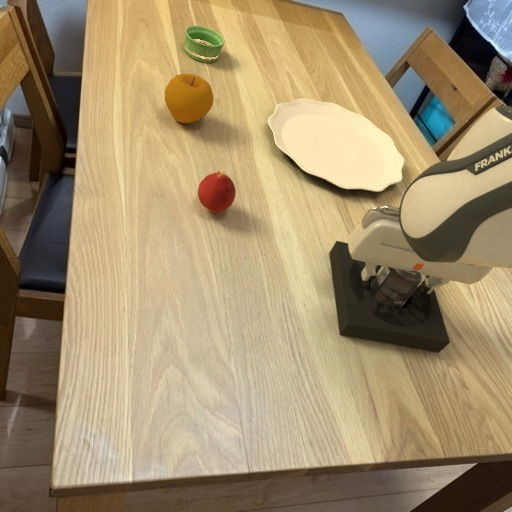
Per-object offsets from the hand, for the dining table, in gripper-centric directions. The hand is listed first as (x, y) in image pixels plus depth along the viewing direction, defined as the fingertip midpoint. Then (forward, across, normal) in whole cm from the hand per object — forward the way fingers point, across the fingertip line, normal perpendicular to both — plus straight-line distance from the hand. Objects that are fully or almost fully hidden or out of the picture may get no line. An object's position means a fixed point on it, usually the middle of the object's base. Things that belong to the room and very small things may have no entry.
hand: (394, 284), depth 74 cm
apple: (+4, -35, +35) cm, 50 cm away
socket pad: (+4, 0, 0) cm, 4 cm away
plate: (+4, -4, +38) cm, 38 cm away
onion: (+4, -28, +12) cm, 31 cm away
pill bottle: (+4, 0, 0) cm, 5 cm away
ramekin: (+4, -34, +63) cm, 72 cm away
